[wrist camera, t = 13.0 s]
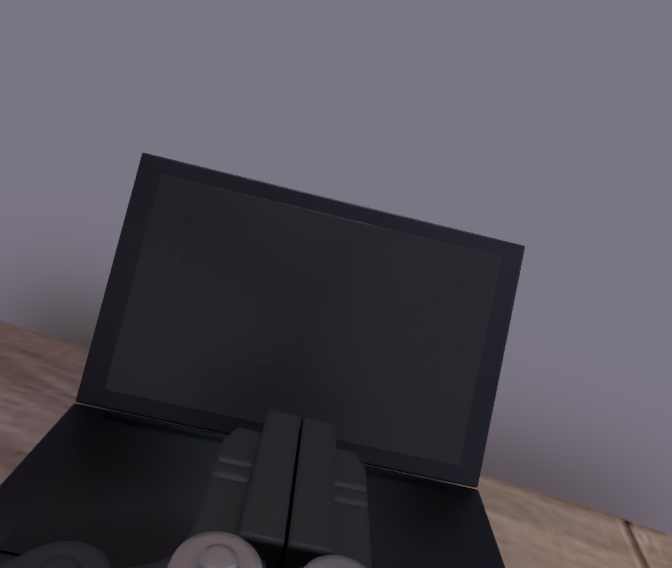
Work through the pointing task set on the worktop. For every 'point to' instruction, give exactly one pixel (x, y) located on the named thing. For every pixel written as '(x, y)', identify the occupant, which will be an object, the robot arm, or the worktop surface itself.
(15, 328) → the worktop surface
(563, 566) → the worktop surface
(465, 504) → the laptop
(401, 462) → the laptop screen
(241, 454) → the robot arm
